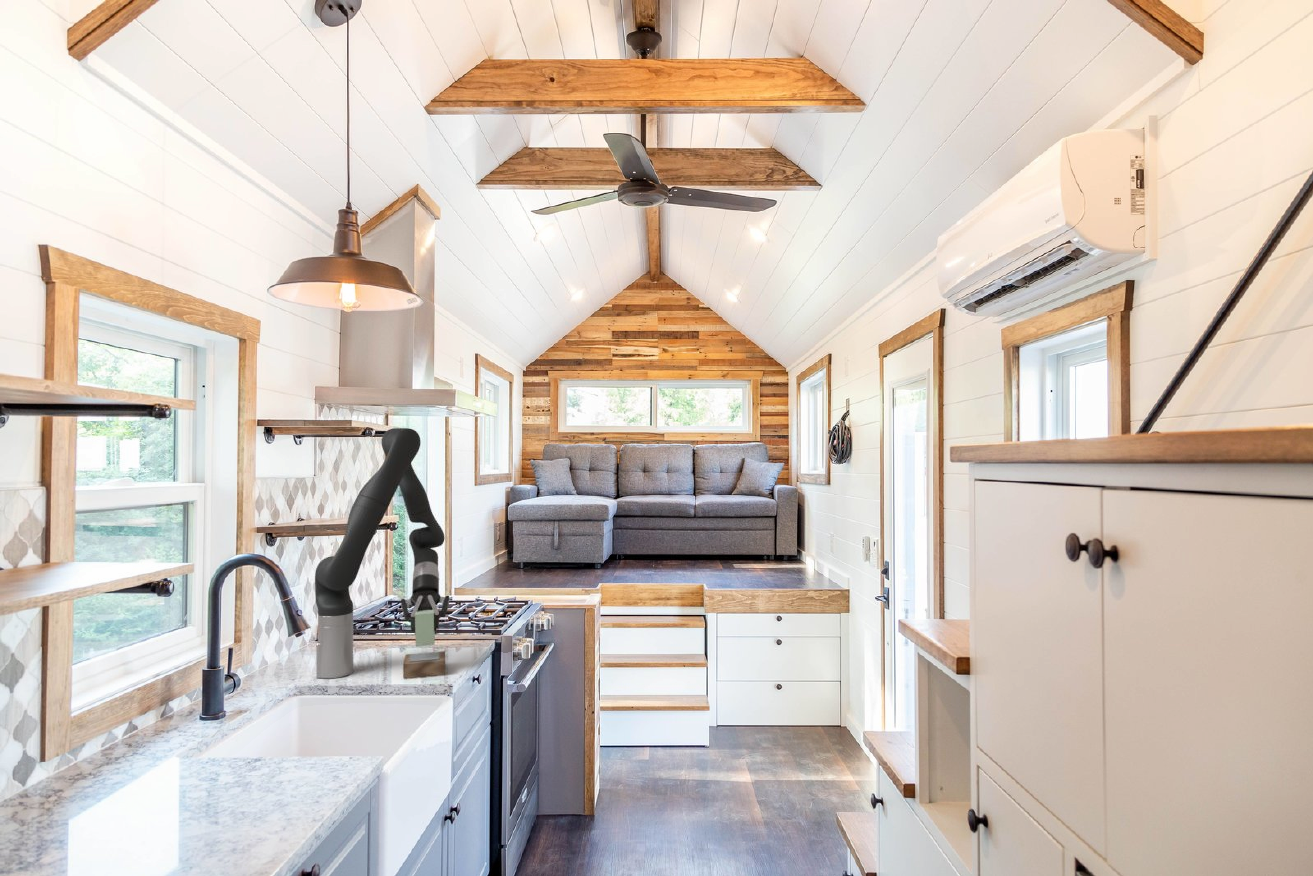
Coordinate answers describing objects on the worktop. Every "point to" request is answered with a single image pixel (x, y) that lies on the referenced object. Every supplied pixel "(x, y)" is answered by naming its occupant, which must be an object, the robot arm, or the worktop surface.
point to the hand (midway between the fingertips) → (424, 629)
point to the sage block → (424, 628)
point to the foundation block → (424, 664)
